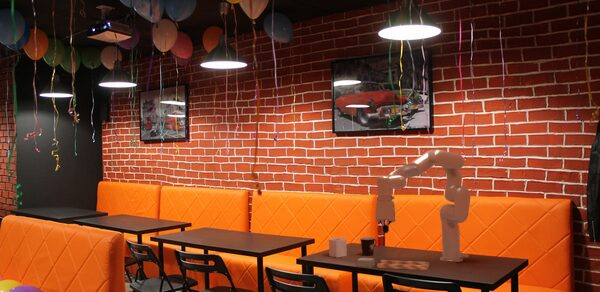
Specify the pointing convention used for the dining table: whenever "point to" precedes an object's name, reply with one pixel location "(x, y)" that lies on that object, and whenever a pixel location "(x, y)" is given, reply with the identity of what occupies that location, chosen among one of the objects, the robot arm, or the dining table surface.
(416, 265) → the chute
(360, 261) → the grayish brown block
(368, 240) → the coffee mug
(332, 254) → the white box
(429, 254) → the dining table surface
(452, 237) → the robot arm
